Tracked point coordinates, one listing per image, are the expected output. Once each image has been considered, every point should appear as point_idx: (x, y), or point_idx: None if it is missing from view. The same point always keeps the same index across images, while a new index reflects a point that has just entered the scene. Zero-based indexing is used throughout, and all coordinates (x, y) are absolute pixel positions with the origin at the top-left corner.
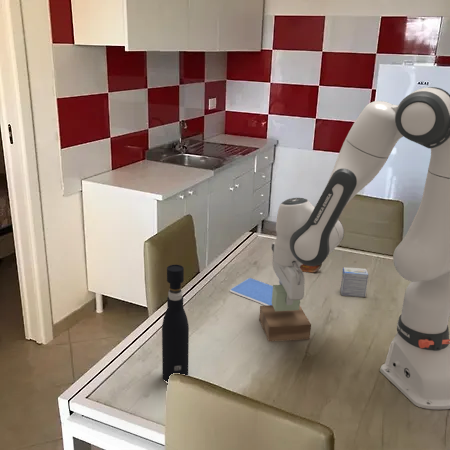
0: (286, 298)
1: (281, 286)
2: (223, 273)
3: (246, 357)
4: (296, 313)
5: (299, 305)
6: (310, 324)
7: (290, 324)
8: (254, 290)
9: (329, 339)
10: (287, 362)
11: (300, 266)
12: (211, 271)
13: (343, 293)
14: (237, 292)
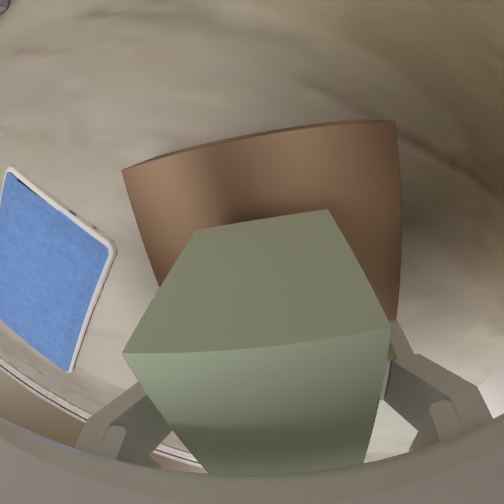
0: (393, 401)
1: (241, 468)
2: (10, 359)
3: (435, 354)
4: (252, 195)
5: (335, 225)
6: (392, 125)
7: (386, 249)
8: (37, 313)
9: (358, 29)
10: (488, 245)
11: None
12: (18, 378)
13: (2, 3)
14: (70, 359)
